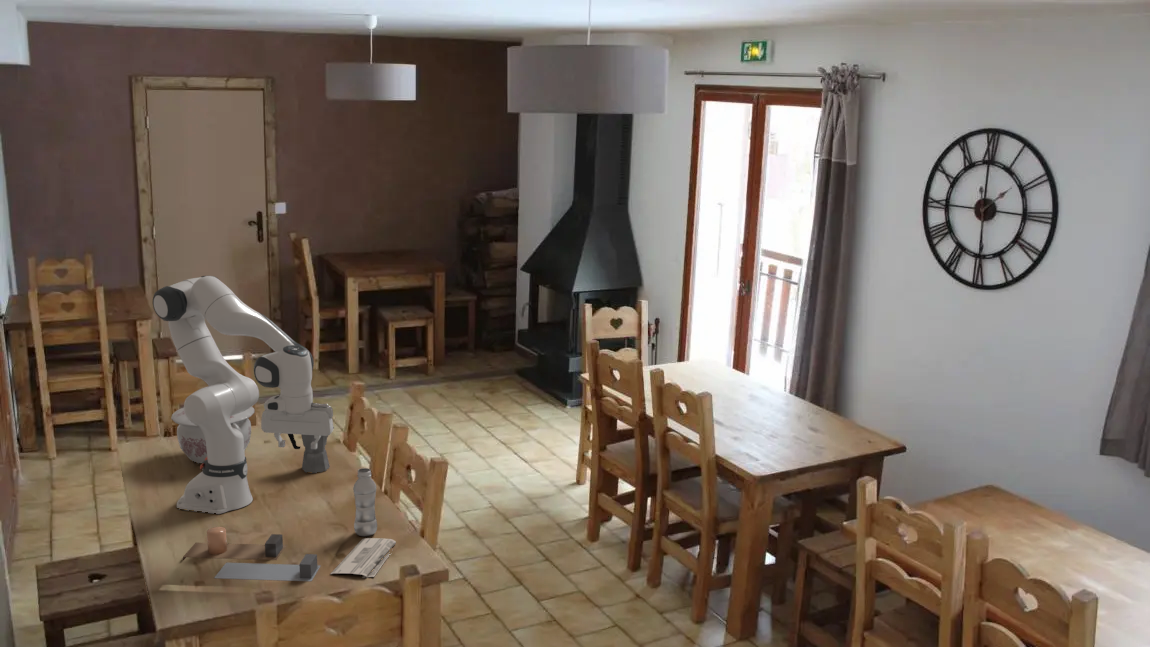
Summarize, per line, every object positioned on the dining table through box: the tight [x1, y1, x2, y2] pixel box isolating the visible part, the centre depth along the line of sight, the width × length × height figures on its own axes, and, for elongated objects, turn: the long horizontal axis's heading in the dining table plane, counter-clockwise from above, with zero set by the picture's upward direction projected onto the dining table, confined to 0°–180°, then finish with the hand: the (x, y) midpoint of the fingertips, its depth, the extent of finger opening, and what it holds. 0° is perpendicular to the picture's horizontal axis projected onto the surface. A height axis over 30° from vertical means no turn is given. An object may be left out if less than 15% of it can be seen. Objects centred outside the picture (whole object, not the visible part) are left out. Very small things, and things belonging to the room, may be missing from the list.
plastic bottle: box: [352, 467, 378, 537], centre depth 298 cm, size 6×7×20 cm
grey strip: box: [213, 553, 321, 582], centre depth 274 cm, size 26×9×5 cm, turn 88°
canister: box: [206, 526, 228, 555], centre depth 285 cm, size 5×5×6 cm
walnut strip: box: [182, 533, 287, 561], centre depth 285 cm, size 26×9×5 cm, turn 88°
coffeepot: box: [287, 426, 335, 474], centre depth 348 cm, size 15×9×18 cm, turn 102°
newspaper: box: [330, 537, 397, 580], centre depth 285 cm, size 23×12×2 cm, turn 169°
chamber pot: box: [170, 406, 255, 464], centre depth 355 cm, size 28×28×21 cm
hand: (298, 447), depth 295 cm, fingers open, 8 cm apart
